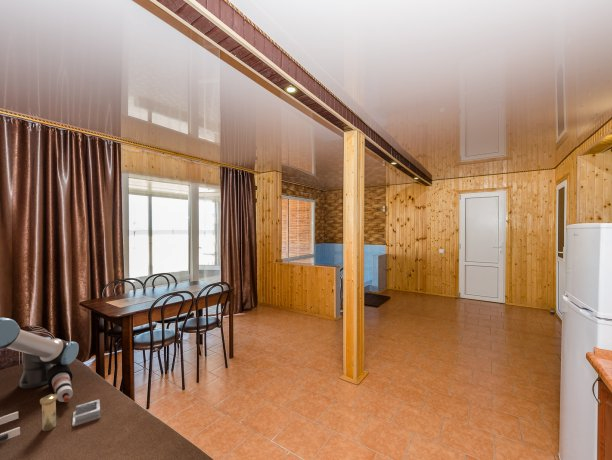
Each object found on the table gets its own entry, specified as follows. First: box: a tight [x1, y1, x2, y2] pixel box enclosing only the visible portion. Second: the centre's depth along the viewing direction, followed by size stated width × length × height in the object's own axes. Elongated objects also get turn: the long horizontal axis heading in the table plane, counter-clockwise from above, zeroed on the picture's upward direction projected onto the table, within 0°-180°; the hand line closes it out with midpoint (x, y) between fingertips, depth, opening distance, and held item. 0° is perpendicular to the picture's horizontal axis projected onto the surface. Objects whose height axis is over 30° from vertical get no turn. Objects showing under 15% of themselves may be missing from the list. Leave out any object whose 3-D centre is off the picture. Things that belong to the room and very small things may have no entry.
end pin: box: [39, 393, 58, 432], centre depth 128 cm, size 6×6×13 cm
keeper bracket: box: [71, 399, 101, 427], centre depth 136 cm, size 11×10×4 cm
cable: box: [47, 364, 74, 403], centre depth 152 cm, size 10×34×10 cm
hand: (19, 422), depth 122 cm, fingers open, 13 cm apart
